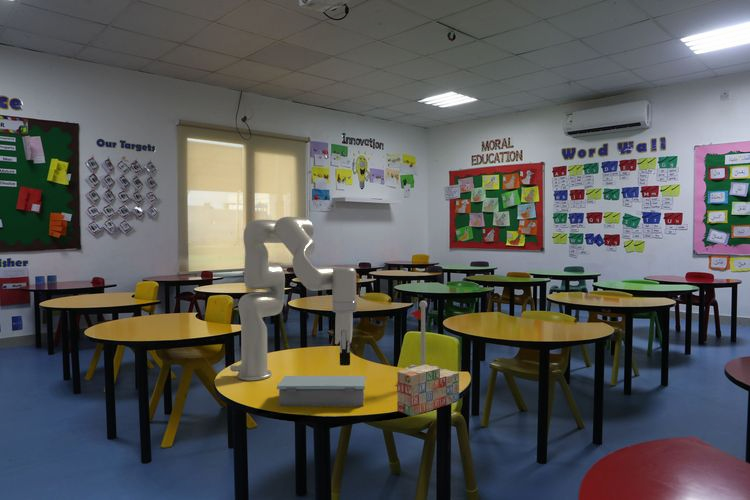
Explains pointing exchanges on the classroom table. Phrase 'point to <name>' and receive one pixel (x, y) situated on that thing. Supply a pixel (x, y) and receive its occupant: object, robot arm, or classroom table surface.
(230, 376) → the classroom table surface
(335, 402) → the grey open box
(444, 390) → the stack of blocks
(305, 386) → the grey flat panel
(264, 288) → the robot arm
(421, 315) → the flag stand
